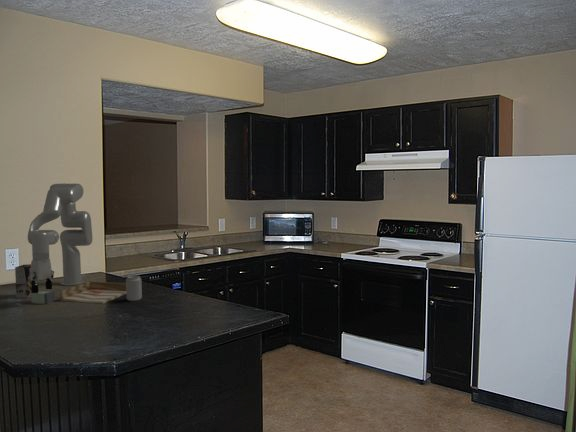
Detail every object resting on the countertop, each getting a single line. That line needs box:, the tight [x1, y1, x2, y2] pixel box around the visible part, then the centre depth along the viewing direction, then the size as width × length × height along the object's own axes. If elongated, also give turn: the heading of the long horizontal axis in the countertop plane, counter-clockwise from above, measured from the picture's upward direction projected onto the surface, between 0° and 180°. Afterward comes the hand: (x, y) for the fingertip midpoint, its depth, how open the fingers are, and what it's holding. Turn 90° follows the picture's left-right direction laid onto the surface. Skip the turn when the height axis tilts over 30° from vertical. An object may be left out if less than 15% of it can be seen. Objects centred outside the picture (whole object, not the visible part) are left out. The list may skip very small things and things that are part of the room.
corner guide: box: [59, 281, 126, 304], centre depth 264 cm, size 24×24×5 cm
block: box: [31, 290, 55, 305], centre depth 252 cm, size 5×9×5 cm, turn 77°
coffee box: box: [14, 263, 36, 299], centre depth 266 cm, size 9×6×16 cm
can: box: [125, 275, 143, 302], centre depth 256 cm, size 8×8×12 cm
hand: (42, 291), depth 252 cm, fingers open, 9 cm apart
